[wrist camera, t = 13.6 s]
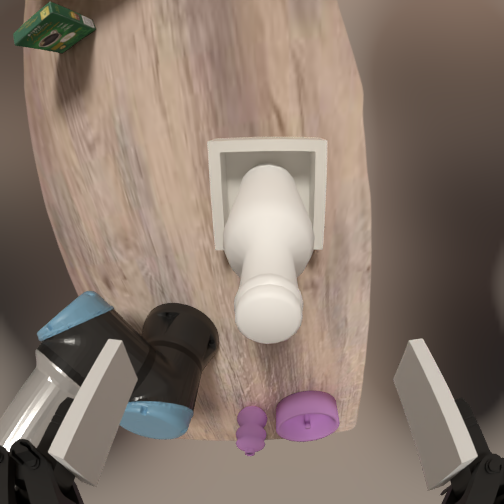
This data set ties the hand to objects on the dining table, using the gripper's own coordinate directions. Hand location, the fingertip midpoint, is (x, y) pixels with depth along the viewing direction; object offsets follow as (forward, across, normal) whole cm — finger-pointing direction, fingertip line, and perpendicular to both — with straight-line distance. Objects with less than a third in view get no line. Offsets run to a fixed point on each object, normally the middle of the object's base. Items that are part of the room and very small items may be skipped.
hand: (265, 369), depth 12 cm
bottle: (+34, 0, 0) cm, 34 cm away
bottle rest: (+34, 0, 0) cm, 34 cm away
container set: (+35, +5, -55) cm, 65 cm away
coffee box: (+35, -31, +30) cm, 55 cm away
